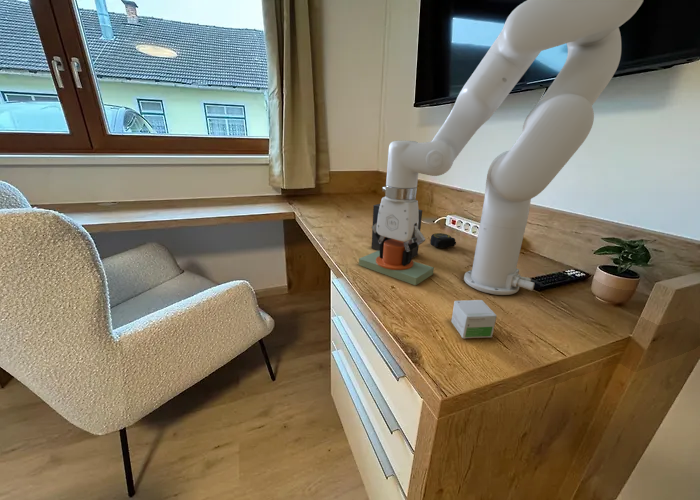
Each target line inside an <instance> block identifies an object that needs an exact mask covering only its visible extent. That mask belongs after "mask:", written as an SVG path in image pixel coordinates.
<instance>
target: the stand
mask: <svg viewBox="0 0 700 500" xmlns="http://www.w3.org/2000/svg"><path fill="white" fill-rule="evenodd" d="M378 256H380V251H379V250H376V251H374V252H371V253H369V254H367V255H364V256H361V257H359V258H358V266H360V267H363V268H365V269H369V270H371V271H373V272H377V273H380V274H382V275H385V276H388V277H391V278H394V279H396V280H399V281H402V282H405V283H408V284H411V285H413V286H417V285H419V284H421V283H423V282H424V281H425V280H426V279H429V278H430V277H431V276H433V275H434V269H435V267H434V266H430V265H428V264H424V263H420V262H417V261H414V260H413V266H412V267H411V268H409V269H405V270H391V269H386V268H383V267H381V266H379V265H378V264H377V263H376V258H377V257H378Z"/></svg>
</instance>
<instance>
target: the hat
mask: <svg viewBox="0 0 700 500" xmlns="http://www.w3.org/2000/svg"><path fill="white" fill-rule="evenodd" d="M403 251H405V247H404V243H403V241H398V240H395V239H391V240H386V241H384V249H383V258H380V256H378V257H377V258H376V263H377V264H378V265H379V266H381V267H383V268H386V269H391V270H405V269H409V268H411V267H412V266H413V261H414V260H413V259H412V260H411V262H410V263H409V264H407V265H405V266H403V265H402V258H403Z"/></svg>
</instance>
